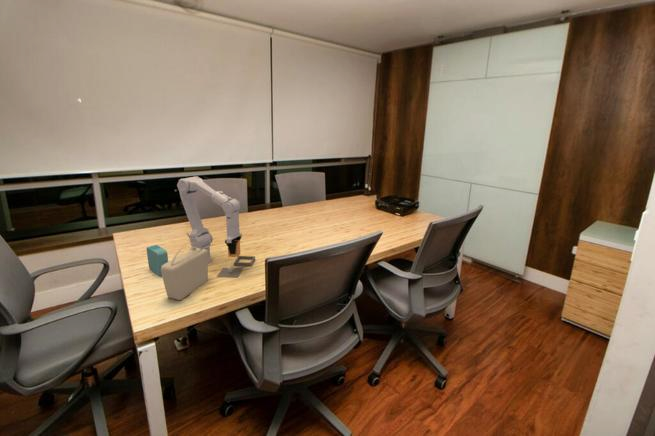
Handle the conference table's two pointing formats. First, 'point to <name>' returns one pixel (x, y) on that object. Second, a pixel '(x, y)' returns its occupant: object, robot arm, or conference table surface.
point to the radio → (185, 272)
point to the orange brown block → (236, 250)
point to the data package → (156, 258)
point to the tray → (244, 259)
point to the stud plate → (233, 275)
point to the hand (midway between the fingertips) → (234, 251)
